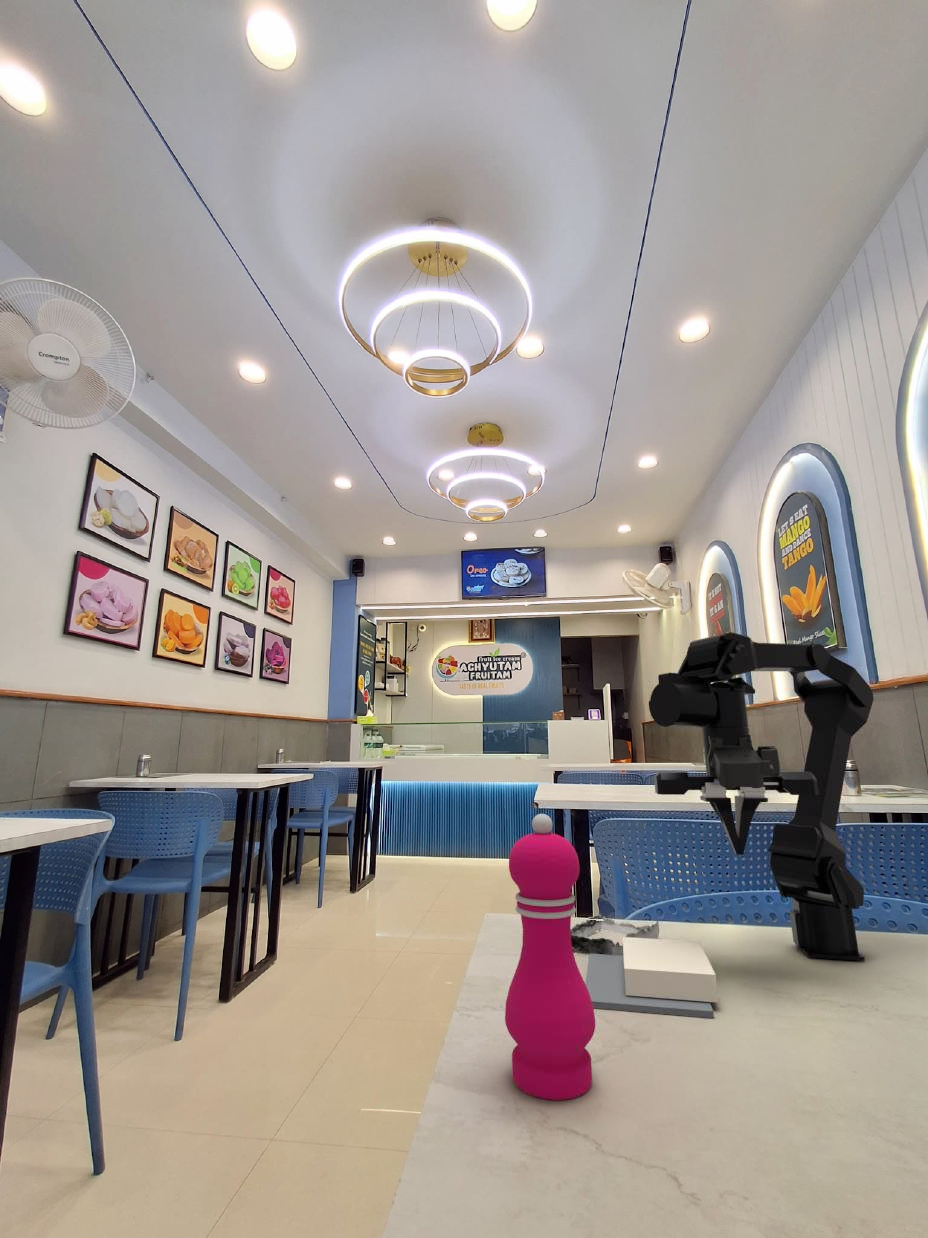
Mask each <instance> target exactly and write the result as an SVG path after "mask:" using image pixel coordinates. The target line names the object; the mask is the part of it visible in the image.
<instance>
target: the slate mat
mask: <svg viewBox="0 0 928 1238" xmlns="http://www.w3.org/2000/svg"><path fill="white" fill-rule="evenodd" d="M586 970H587V971H586V977H585V985H586V987H587V989H588V991H589V994H590V997H591V1000H592V1004H593V1008H594V1009H601V1010H609V1011H610V1010H613V1011H622V1012H623V1011H625V1012H636V1013H647V1014H648V1013H649V1014H657V1015H658V1014H659V1015H660V1014H661V1015H671V1016H682V1017H683V1016H684V1017H695V1018H704V1019H705V1018H706V1019H715V1015H714V1014H715V1013H714V1009H713V1007H712V1005H711V1002H705V1001H692V1000H680V999H667V998H655V997H642V996H630V995H626V987H625V972H624V956H621V955H606V954H590V953H589V954H588V963H587V969H586Z"/></svg>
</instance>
